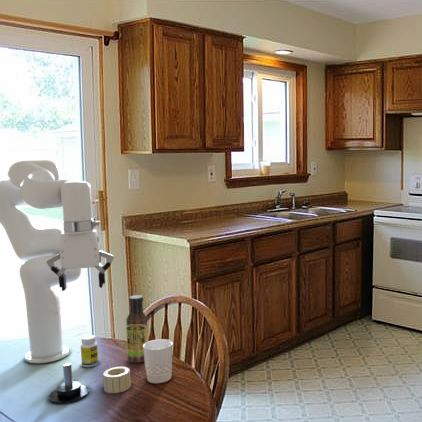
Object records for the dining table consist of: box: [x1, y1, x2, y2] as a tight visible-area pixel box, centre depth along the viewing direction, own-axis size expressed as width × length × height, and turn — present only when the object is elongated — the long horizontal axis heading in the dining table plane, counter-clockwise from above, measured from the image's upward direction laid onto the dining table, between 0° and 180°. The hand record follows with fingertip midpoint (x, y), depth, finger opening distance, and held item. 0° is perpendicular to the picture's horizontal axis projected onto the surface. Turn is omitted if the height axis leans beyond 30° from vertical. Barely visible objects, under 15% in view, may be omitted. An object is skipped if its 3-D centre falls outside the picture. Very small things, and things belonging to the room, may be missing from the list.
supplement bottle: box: [80, 334, 99, 368], centre depth 160 cm, size 5×5×8 cm
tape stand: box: [48, 362, 90, 405], centre depth 140 cm, size 10×10×8 cm
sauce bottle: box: [125, 294, 149, 364], centre depth 162 cm, size 6×6×20 cm
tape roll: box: [102, 366, 132, 394], centre depth 144 cm, size 7×7×4 cm
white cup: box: [143, 338, 173, 384], centre depth 149 cm, size 8×8×10 cm
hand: (82, 288), depth 147 cm, fingers open, 9 cm apart
